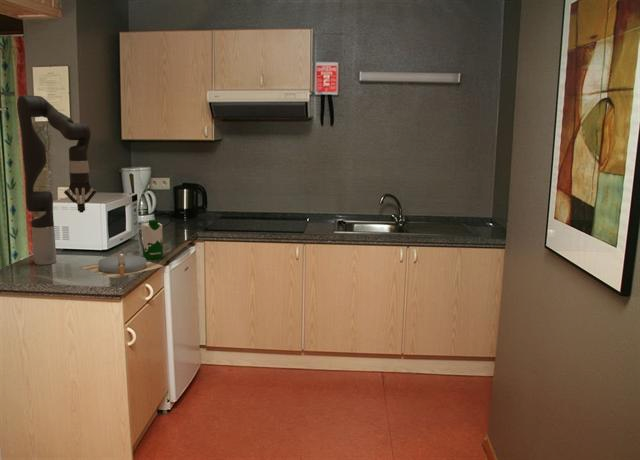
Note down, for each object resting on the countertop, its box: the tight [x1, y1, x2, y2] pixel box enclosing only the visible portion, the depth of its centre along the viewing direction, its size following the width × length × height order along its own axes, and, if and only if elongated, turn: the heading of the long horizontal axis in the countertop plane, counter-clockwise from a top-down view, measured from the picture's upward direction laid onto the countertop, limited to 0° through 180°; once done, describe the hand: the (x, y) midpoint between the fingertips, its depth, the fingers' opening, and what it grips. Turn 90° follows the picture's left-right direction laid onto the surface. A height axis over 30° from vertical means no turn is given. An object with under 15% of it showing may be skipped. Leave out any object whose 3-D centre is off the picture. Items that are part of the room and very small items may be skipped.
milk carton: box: [140, 219, 164, 261], centre depth 259 cm, size 9×9×20 cm
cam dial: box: [97, 252, 147, 273], centre depth 241 cm, size 20×20×8 cm
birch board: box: [79, 260, 166, 279], centre depth 243 cm, size 26×26×6 cm
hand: (81, 212), depth 231 cm, fingers closed
